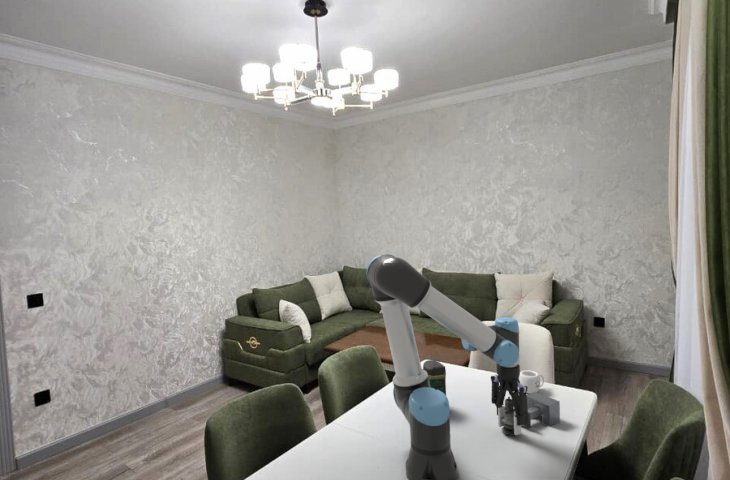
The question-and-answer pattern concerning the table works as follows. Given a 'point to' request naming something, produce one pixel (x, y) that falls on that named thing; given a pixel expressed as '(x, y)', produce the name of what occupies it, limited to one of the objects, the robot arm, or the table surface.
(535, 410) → the plunger
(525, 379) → the mug
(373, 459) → the table surface
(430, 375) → the coffee jar
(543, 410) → the gauge
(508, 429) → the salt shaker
